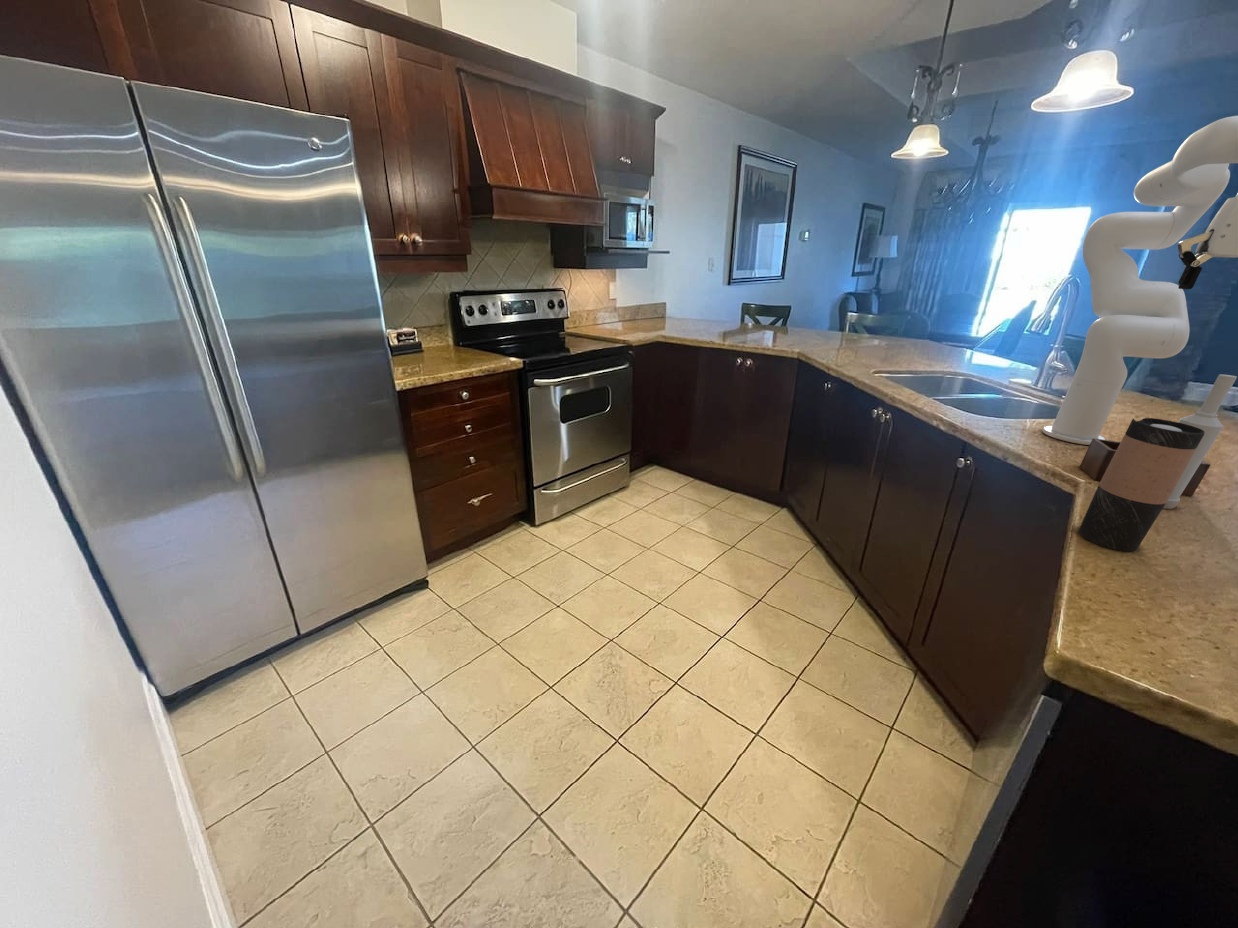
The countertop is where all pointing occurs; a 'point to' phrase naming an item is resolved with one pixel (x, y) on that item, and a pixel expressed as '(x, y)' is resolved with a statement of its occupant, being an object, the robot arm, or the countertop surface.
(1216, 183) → the robot arm
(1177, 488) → the bottle
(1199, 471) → the dark brown box
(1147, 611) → the countertop surface
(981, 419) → the countertop surface
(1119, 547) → the travel mug
